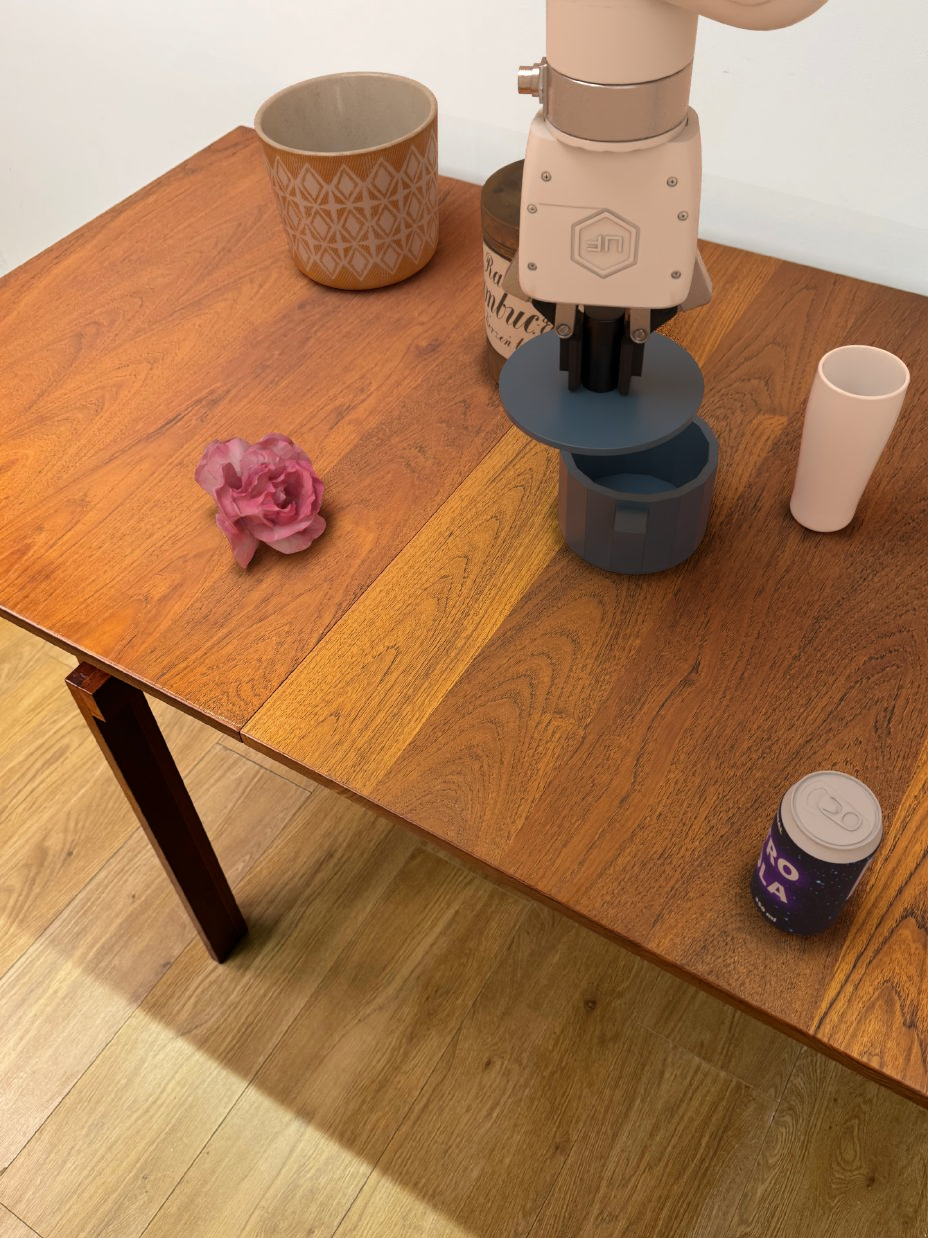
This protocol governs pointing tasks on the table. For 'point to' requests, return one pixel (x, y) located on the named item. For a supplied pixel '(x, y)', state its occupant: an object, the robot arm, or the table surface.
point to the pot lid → (601, 390)
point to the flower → (262, 494)
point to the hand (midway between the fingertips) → (600, 377)
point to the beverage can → (816, 851)
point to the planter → (354, 175)
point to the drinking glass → (845, 432)
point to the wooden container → (501, 228)
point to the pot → (639, 502)
